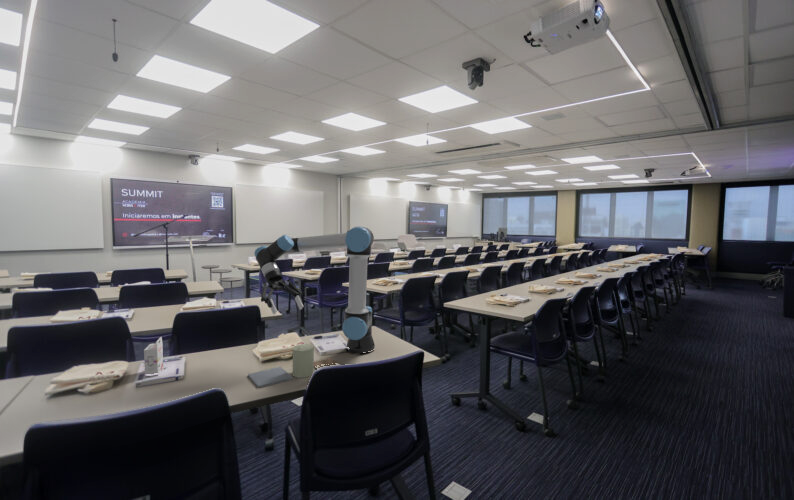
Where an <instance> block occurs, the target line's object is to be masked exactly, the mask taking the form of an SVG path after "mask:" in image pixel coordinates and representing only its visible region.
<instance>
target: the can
mask: <svg viewBox="0 0 794 500" xmlns="http://www.w3.org/2000/svg"><path fill="white" fill-rule="evenodd" d="M291 349H292V373H291V376H292V377H295V378H308V377H311V376H312V375H313V374H314V373H313V371H314V372H315V368H314V362H315V360H314V354H315V353H314V351H315V350H314V349H315V346H314V345H313V344H309V343H308V344H307V343H303V344H301V343H300V344H296V345H294V346H293V347H292V348H291ZM312 373H313V374H312Z"/></svg>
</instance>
